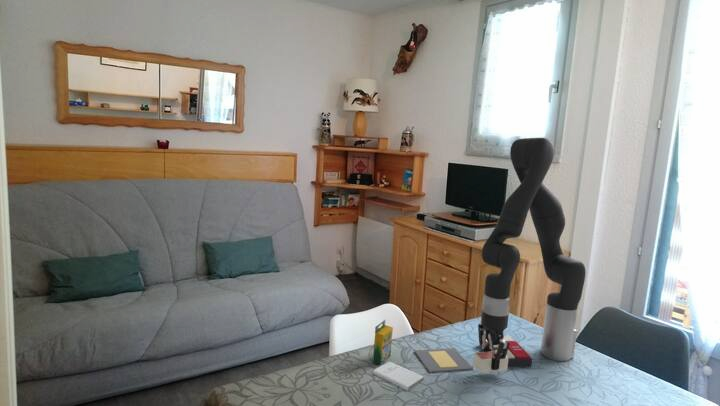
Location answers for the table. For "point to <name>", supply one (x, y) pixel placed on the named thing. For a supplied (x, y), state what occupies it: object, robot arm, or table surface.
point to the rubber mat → (442, 360)
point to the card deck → (488, 362)
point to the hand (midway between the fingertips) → (490, 364)
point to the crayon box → (382, 343)
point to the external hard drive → (398, 375)
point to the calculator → (516, 354)
